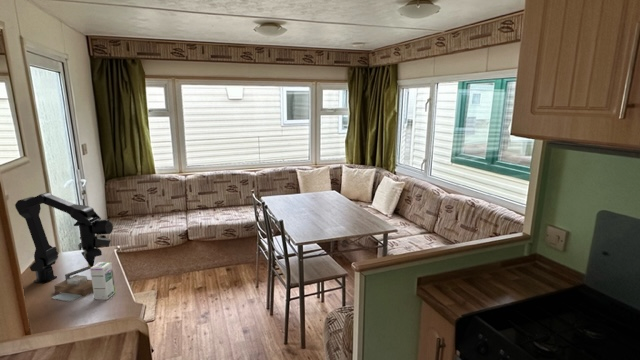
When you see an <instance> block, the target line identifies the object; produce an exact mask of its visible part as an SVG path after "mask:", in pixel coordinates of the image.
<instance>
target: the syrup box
mask: <svg viewBox="0 0 640 360" xmlns="http://www.w3.org/2000/svg"><path fill="white" fill-rule="evenodd" d="M89 272H90V277H91V280H92V285H93V292H92V293H93V297H94V298H93V299H94V300H99V301H100V300H103V301H106V300H109V299H110V297H112V296H113V295H114V294H116V285H115V279H114V273H113V264H112V262H111V261H98V262H97V263H96V264H94V266H93V267H91V268H90V269H89Z"/></svg>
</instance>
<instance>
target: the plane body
mask: <svg viewBox="0 0 640 360" xmlns="http://www.w3.org/2000/svg"><path fill="white" fill-rule="evenodd" d="M53 287H54V292H55V293H59V292H60V293H62V292H63V293H70V294H77V295H81V296H80V297H87V296H88V295H90V294H92V293H94V292H93V285H92V279H87V282H86V283H84V284H82V285H81V286H79V287H78V286H71V285H67V282H66V279H64V280H62V281H61V282H59V283H56V284H55V285H54V286H53ZM60 293H59V294H60Z"/></svg>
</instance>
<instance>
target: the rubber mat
mask: <svg viewBox="0 0 640 360" xmlns="http://www.w3.org/2000/svg"><path fill="white" fill-rule="evenodd" d="M80 297H82V296H81V295H77V294H70V293H63V292H62V293H58V294H56V295H54V296H52V297H51V298H53V299H52V300H56V299H58V300H57V301H63V302H70V303H71V302H73V301H75V300H77V299H78V298H80Z"/></svg>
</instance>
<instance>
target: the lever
mask: <svg viewBox="0 0 640 360" xmlns="http://www.w3.org/2000/svg"><path fill="white" fill-rule="evenodd" d="M90 268H91V267H90V265H89V264H88V263H87V266H85V267H83V268H80V269H78V270H75V271H71V272H68V273H66V274H65V275H64V280H66V282H67V279H69V278H71V277H73V276H75V275H78V274H79V273H82V272H85V271H88V270H90Z"/></svg>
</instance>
